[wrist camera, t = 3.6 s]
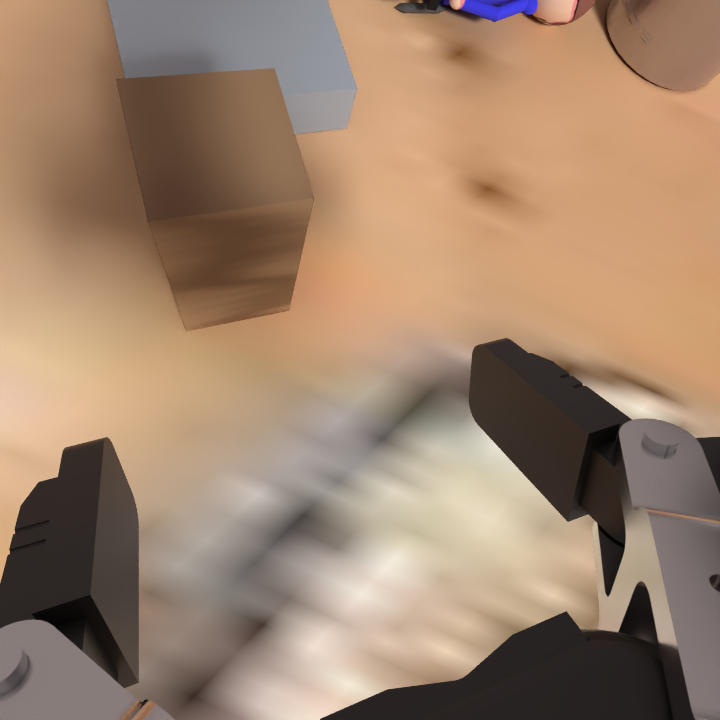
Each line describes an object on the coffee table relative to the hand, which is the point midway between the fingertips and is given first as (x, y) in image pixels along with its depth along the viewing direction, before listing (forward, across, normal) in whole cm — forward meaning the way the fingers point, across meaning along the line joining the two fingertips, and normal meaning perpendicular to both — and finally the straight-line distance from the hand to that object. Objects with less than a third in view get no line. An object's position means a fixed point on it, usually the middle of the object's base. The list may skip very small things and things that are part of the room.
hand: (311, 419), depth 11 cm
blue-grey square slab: (+25, -3, -7) cm, 26 cm away
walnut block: (+16, 0, +2) cm, 16 cm away
